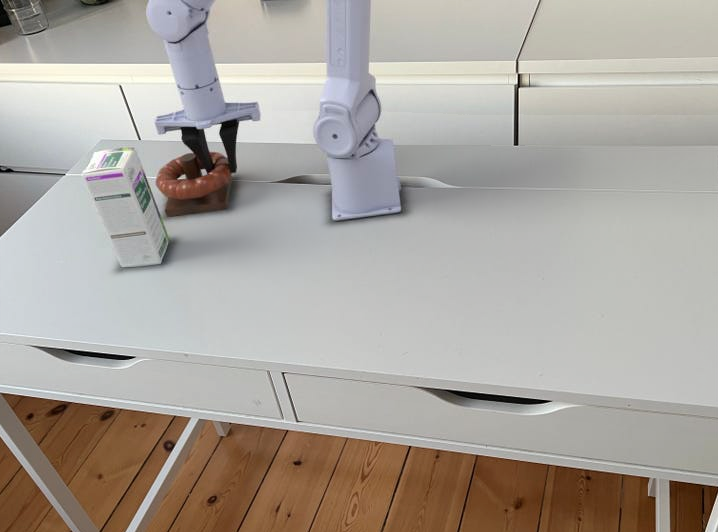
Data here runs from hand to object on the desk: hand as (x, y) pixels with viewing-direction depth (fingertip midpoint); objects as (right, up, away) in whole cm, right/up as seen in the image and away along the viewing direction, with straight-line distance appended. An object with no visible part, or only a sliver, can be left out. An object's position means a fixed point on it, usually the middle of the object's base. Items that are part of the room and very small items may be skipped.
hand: (222, 171), depth 113 cm
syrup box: (-9, -13, -7) cm, 18 cm away
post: (-4, -3, +3) cm, 6 cm away
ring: (-4, 0, 0) cm, 4 cm away
